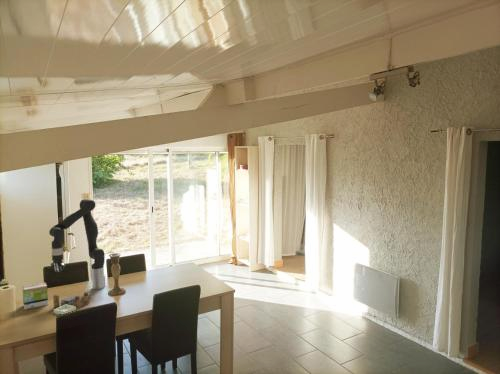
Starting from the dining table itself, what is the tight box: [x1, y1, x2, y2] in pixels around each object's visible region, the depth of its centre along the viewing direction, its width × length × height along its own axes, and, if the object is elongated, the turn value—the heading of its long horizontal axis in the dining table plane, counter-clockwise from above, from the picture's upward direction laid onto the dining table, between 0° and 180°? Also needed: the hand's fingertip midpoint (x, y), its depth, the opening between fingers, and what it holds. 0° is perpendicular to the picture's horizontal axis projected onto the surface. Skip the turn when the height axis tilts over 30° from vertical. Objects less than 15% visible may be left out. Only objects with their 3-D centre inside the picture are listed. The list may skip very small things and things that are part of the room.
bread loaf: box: [52, 294, 61, 309], centre depth 262 cm, size 4×4×9 cm
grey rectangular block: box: [60, 294, 76, 306], centre depth 271 cm, size 10×7×4 cm
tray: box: [53, 304, 77, 315], centre depth 255 cm, size 10×10×3 cm
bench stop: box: [73, 291, 91, 310], centre depth 266 cm, size 12×3×8 cm, turn 157°
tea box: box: [22, 282, 49, 310], centre depth 266 cm, size 15×10×15 cm
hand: (58, 276), depth 274 cm, fingers closed
